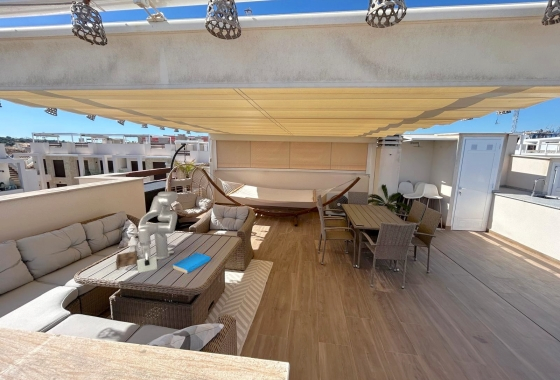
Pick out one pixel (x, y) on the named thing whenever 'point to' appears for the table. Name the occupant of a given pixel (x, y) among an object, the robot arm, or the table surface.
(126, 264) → the box
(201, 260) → the book
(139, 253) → the toy gun turret
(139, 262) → the cover plate
